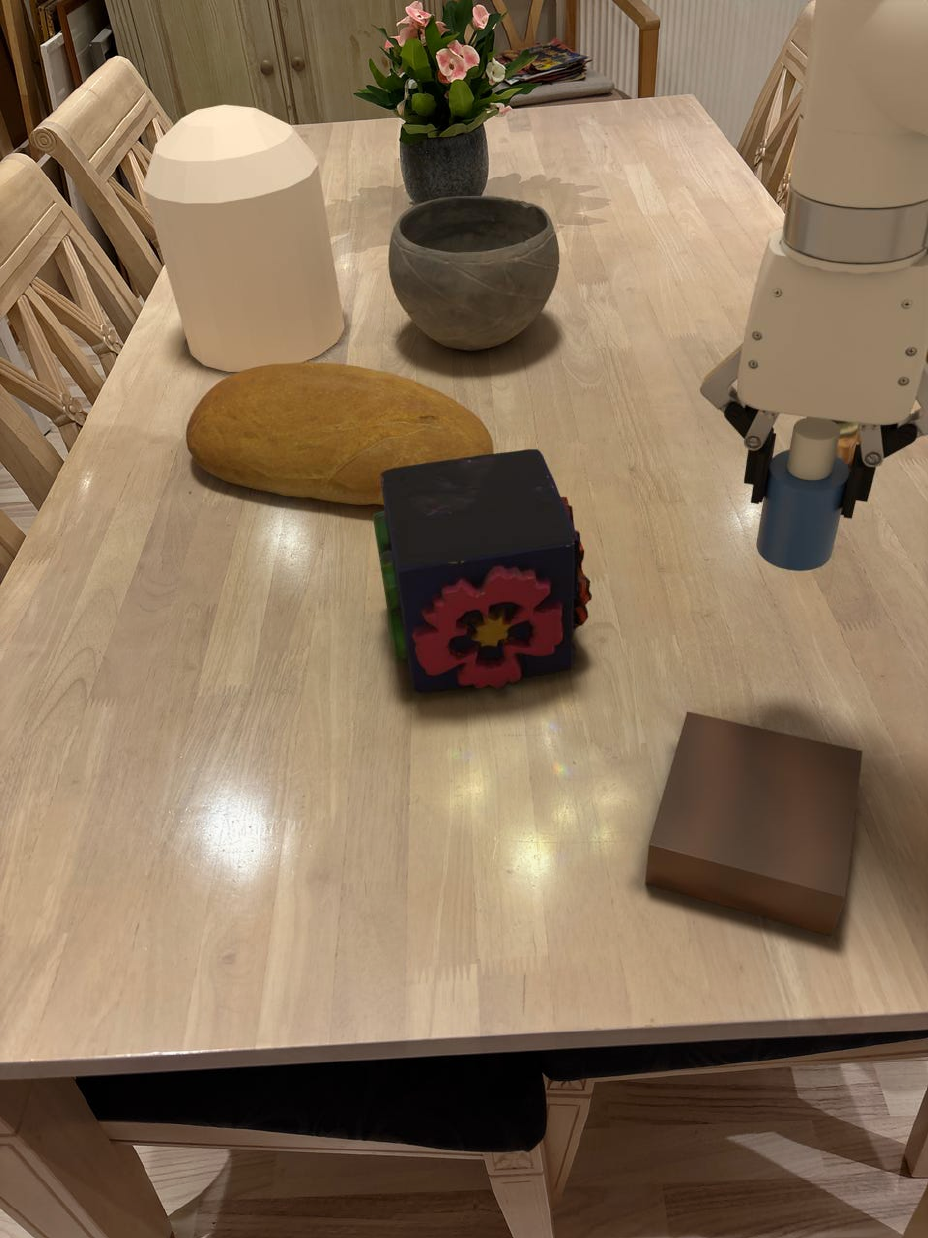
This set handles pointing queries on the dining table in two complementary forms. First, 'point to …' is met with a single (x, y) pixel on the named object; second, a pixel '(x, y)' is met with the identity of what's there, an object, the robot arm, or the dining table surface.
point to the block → (757, 822)
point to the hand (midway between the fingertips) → (803, 496)
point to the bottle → (803, 498)
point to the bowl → (473, 268)
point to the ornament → (847, 440)
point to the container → (244, 239)
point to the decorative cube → (480, 570)
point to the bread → (326, 430)
